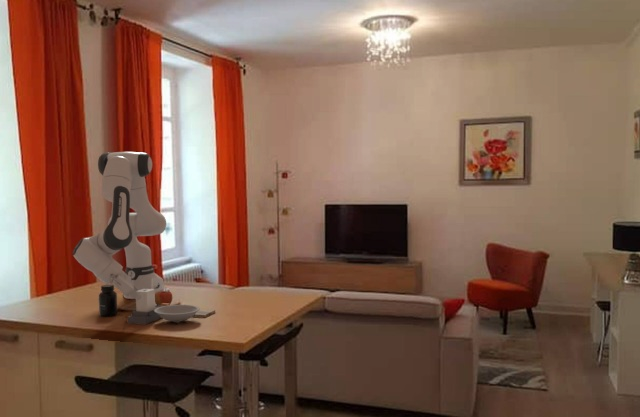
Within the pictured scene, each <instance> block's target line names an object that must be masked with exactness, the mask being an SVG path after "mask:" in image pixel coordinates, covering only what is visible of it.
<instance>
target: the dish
mask: <svg viewBox="0 0 640 417" xmlns="http://www.w3.org/2000/svg"><path fill="white" fill-rule="evenodd" d="M200 309H201V308H200V307H199V306H197V305H192V304H170V305H168V306H162V307H159V308H156V309H155V310H154V312H155V313H157V314H158V315H159V316H160V317H161V318H160V319H163V320H165V321H169V322H174V323H176V324H178V323H181V322H183V321H187V320H189V319H191V318H193V317H192V316H194V315H195V314H196V312H197V311H199V310H200Z"/></svg>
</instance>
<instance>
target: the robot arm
mask: <svg viewBox="0 0 640 417" xmlns="http://www.w3.org/2000/svg"><path fill="white" fill-rule="evenodd" d="M97 169H98V171H99V174H100V175H101V176H102V181H101V188H100V189H101V195H102V197H103V199H105V200H106V201H108V202H109V203H111V215H110V217H109V219H108V222H107V227H105V229H104V230H102V231H101V232H99V233H97V234H94V235H92V236H88V237H82V238H81V239H80V240H79V241H78V242H77V244H76V245H75V247H74V248H73V250H72V256H73V257H74V259H75V260H76V261H77V262H78V263H79V264H80V265H81V266H82V267H84V268H85V269H86V270H88V271H90V272H92V273H93V275H94V276H95V277H96V278H97V279H98V280H100V282H102V283H103V284H104V285H114V288H117V289H118V291H120V292H121V293H122V296H123V298H124V299H127V300H129V299H130V300H136V299H137V300H140V299H141V295H140V294H138V293H137V292H136V291H138V290H141V289H155V294H156V293H157V292H160V291H165V288H166V291H168V292H170V288H169V287H165V284H164V279H163V278H162V277H161V276H160V275H158V274H157V273H155V270H157V269H158V265H157V264H152V250H151V248H150V247H149V245H147V244H145V243H142V242H140V241H139V240H138V237H149V236H150V237H151V236H152V237H153V236H158V235H162V234H163V233H164V232H165V230H166V228H167V220H166V217H165V215H164V214H162V213H161V212H159V211H158V210H157V209H155V208H154V207H153V205H152V204H151V203H150V200H149V196H148V192H147V190H148V189H147V183H146V178H145V177H147V176H149V175H150V174H151V173H152V169H153V161H152V157H151V155H149V153H146V152H141V151H140V152H136V151H117V152H115V151H114V152H109V151H108V152H104V153H101V155H100V156H99V157H98V161H97ZM130 209H132V210H133V211H134V212H130V211H131V210H130ZM123 249H124V252H125V253H124V254H125V261H126V262H125V263H126V264H125V265H126V266H125V269H124V270H125V271H124V270H123V268H124V266H122V264H121V263H119V262H118V261H117V260H116V259H114V257H113V256H114V255H116V254H117V253H118V252H120V251H121V250H123Z"/></svg>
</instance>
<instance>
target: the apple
mask: <svg viewBox="0 0 640 417" xmlns="http://www.w3.org/2000/svg"><path fill="white" fill-rule="evenodd" d="M164 288H165V291H160V292H157V293H156V294H155V306H156V305H158V304H159V305H161V304H162V303H170V305H172V301H173V293H172V292H171V291H166V288H167V287H164Z"/></svg>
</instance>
